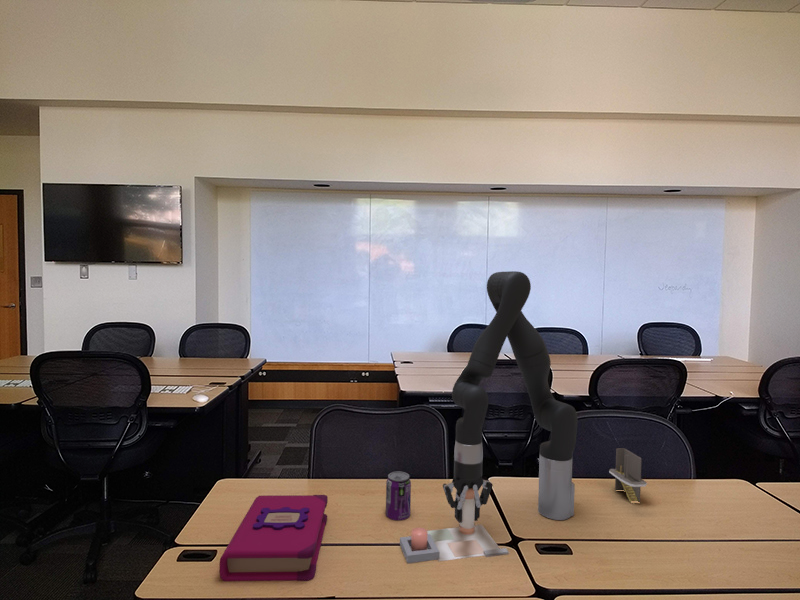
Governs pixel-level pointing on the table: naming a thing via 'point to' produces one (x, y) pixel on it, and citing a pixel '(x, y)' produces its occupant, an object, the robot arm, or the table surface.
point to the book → (277, 540)
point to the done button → (419, 539)
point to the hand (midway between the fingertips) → (466, 520)
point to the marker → (468, 514)
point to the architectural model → (628, 474)
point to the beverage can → (398, 496)
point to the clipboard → (465, 544)
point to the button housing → (419, 555)
